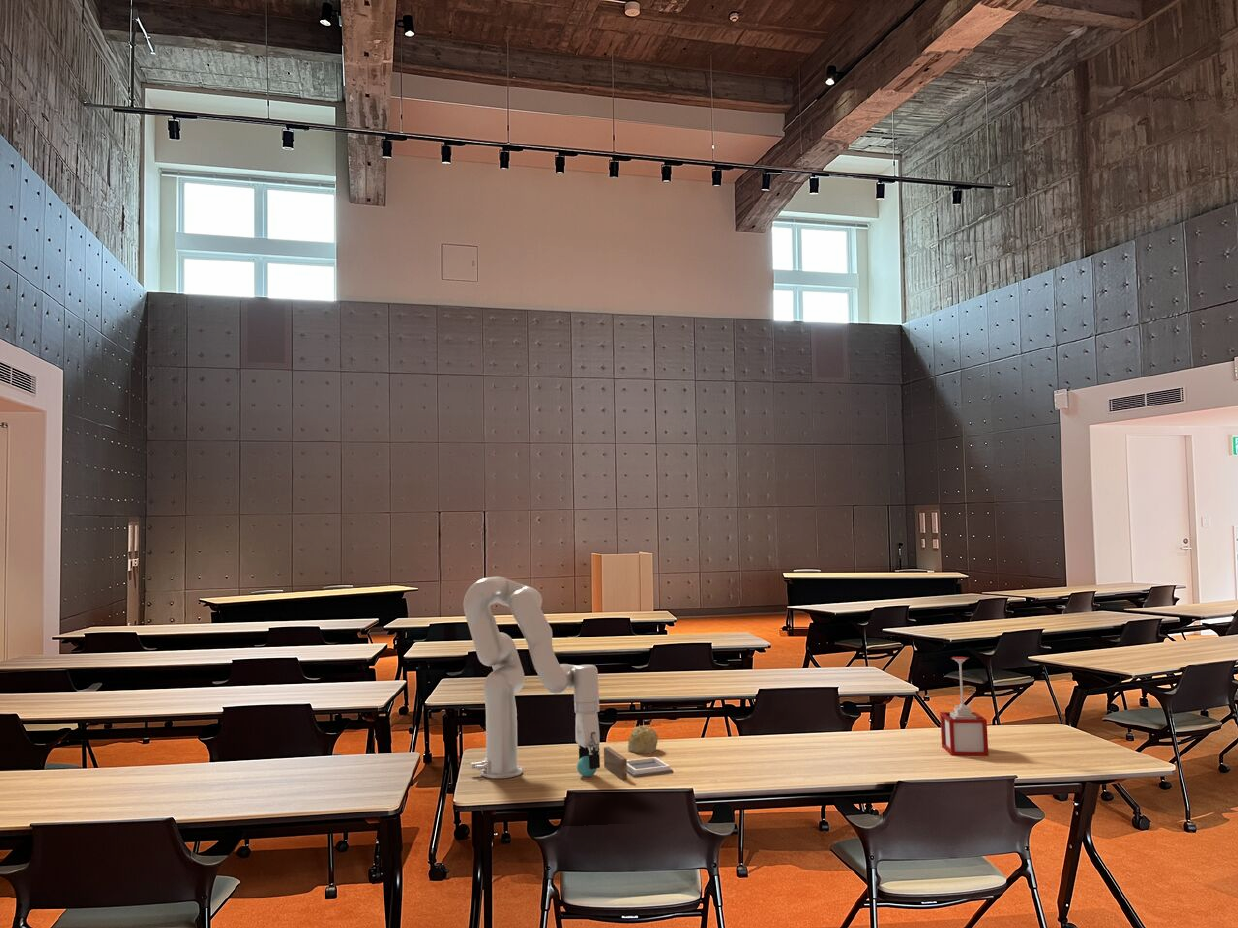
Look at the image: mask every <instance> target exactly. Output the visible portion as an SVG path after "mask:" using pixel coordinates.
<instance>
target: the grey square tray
mask: <svg viewBox="0 0 1238 928" xmlns="http://www.w3.org/2000/svg"><path fill="white" fill-rule="evenodd" d="M670 773H671V774H672V773H674V770H673V769H672V768H671V765H669V764H668V763H666V762H665V761H663V760H661V759H659V758H658V757H656V756H653V757H642V758H634V759H628V760H627V775H628V774H629V775H630V776H631V777H633V778H638V777H640V778H641V777H648V776H655V775H662V774H670Z"/></svg>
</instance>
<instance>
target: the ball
mask: <svg viewBox="0 0 1238 928" xmlns="http://www.w3.org/2000/svg"><path fill="white" fill-rule="evenodd" d="M577 761H578V762H577V763H576V764H577V765H576V769H577V772H578V774H579V775H580V776H582V777H584V778H590V777H591V776H594V774H595V773H596V772H597V769H598V768H596V769H590V768H589V756H584V757H582V758H581V759H580V760H579V759H578V760H577Z"/></svg>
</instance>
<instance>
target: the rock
mask: <svg viewBox="0 0 1238 928" xmlns="http://www.w3.org/2000/svg"><path fill="white" fill-rule="evenodd" d="M658 736H659V735H658V734H657V732H656V731H655V729H654V728H652V727H650V726H647V725H638V726H635V727H634V728H633V729H632V730H631V732H630V735H629V736H628V743H627V744H628V745H627V751H629V752H630V753H634V754H643V755H644V754H652V753H654V752H655V751H656V750H657V745H658V739H659V738H658Z"/></svg>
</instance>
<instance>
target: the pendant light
mask: <svg viewBox="0 0 1238 928" xmlns="http://www.w3.org/2000/svg"><path fill="white" fill-rule="evenodd" d="M968 659H969V657H966V656H952V657H951V660H954V661H955V662H957V664H958V666H959V686H960V687H959V688H960V704H956V705H955V706H953V711H949V712H948V711H946V712H945V711H943V712H941V711H940V712H939V713H940V714H939V715H940V716H939V717H940V733H941V747H942V748H943V749H944V750H945V751H946V752H947V753H948V754H949V755H950V756H954V757H955V756H957V757H959V756H960V757H964V756H965V757H969V756H970V757H972V756H973V757H989V755H990V754H989V739H988V738H989V737H988V725H987V722H988V721H987V719H986V718H985V717H984V716H982V715H981V714H979V713H977V712H973V711H972V709H971V706H970V705H966V704H965V699H964V690H963V689H964V687H963V685H964V684H963V672H962V671H963V669H962V668H963V666H962V665H963V663H964V662H965V661H966V660H968Z"/></svg>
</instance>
